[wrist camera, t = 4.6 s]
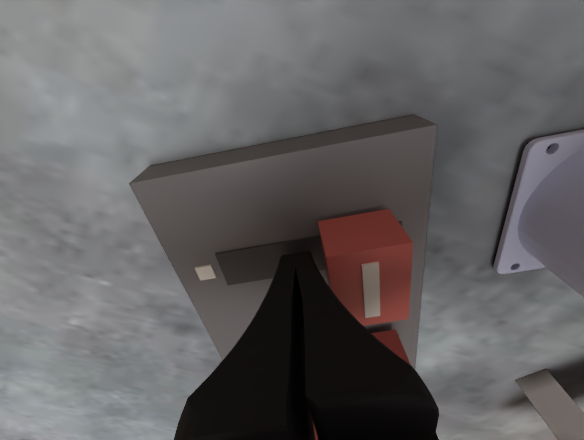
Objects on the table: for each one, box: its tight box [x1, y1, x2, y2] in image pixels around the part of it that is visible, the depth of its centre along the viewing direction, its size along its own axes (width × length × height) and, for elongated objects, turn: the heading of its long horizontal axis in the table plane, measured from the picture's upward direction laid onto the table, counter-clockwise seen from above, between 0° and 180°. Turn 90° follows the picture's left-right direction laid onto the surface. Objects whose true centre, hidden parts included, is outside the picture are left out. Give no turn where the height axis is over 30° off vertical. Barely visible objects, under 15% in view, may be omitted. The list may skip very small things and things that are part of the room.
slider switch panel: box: [129, 115, 437, 369], centre depth 18 cm, size 12×26×2 cm, turn 10°
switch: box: [318, 209, 413, 326], centre depth 12 cm, size 3×4×2 cm
